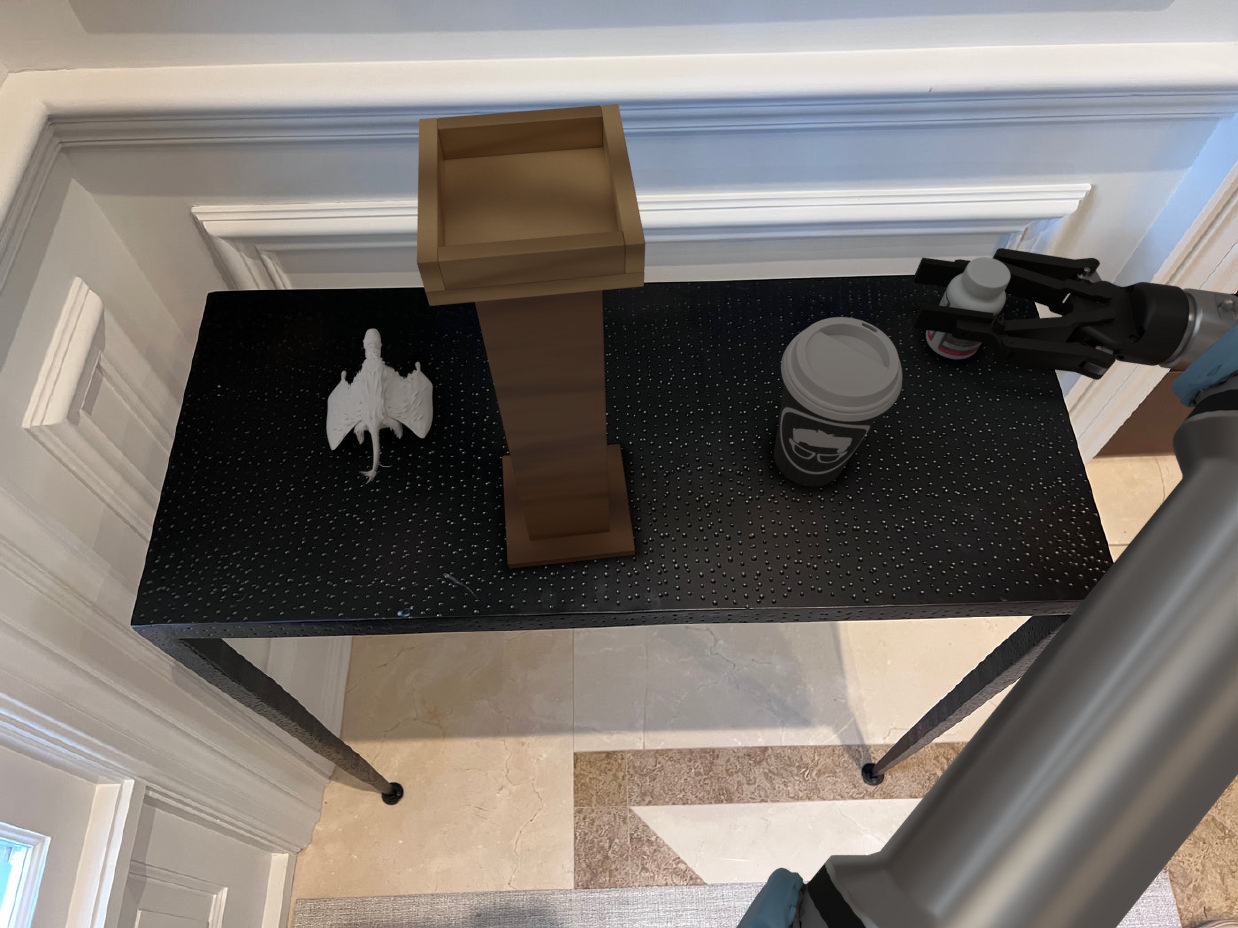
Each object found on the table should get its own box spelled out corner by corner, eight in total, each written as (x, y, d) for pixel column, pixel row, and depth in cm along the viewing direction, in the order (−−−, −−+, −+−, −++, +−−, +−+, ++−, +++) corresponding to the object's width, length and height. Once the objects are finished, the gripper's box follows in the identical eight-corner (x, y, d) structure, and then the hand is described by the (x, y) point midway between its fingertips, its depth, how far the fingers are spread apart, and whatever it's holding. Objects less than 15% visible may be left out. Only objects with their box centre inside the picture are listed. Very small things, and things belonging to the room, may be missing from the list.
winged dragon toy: (438, 494, 72) (428, 471, 69) (325, 509, 71) (309, 487, 68) (431, 343, 81) (422, 316, 78) (331, 355, 81) (317, 328, 77)
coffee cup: (881, 472, 73) (936, 372, 60) (798, 518, 71) (837, 425, 58) (818, 400, 77) (856, 292, 65) (737, 441, 75) (761, 338, 62)
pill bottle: (989, 345, 81) (1031, 277, 73) (952, 369, 79) (991, 302, 71) (949, 313, 83) (986, 243, 75) (913, 335, 82) (946, 266, 73)
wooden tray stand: (635, 554, 69) (645, 242, 38) (509, 569, 68) (416, 263, 37) (619, 449, 75) (618, 103, 44) (503, 461, 74) (418, 118, 43)
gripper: (1176, 229, 76) (929, 198, 78) (1213, 379, 66) (931, 339, 69) (1133, 285, 82) (906, 254, 85) (1161, 429, 73) (905, 390, 75)
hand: (918, 292), depth 77 cm, fingers closed on pill bottle, 5 cm apart
